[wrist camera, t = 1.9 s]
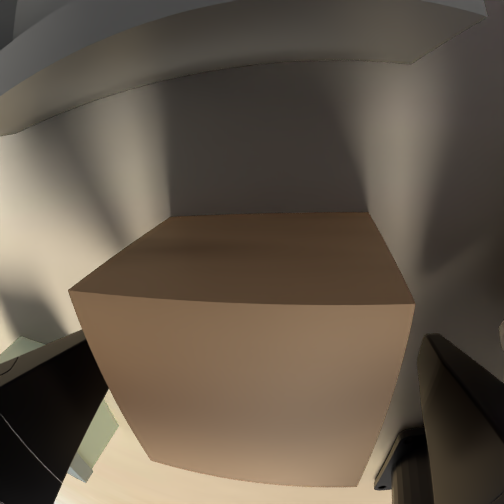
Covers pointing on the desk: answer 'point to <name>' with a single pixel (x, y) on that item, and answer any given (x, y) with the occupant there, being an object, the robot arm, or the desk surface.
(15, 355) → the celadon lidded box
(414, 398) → the desk surface
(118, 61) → the tote
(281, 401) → the walnut block
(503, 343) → the supplement can
